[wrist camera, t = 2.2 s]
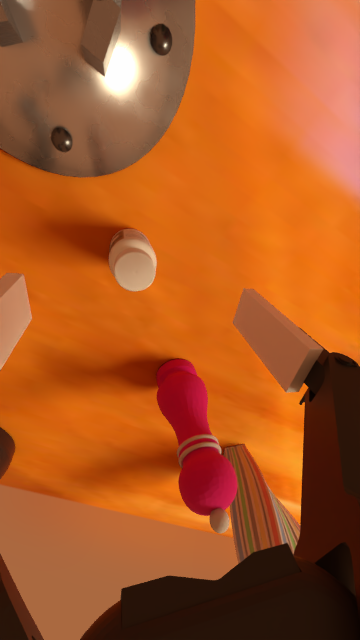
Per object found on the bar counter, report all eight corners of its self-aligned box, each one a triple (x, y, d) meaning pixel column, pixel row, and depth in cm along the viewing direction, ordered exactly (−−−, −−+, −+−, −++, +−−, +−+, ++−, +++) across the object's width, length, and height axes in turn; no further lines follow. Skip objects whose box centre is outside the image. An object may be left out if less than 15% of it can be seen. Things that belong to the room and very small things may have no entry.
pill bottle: (109, 225, 24) (107, 243, 18) (152, 230, 25) (164, 248, 19) (109, 266, 26) (107, 295, 20) (148, 269, 27) (158, 297, 21)
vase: (203, 472, 57) (270, 703, 32) (209, 440, 50) (301, 703, 25) (253, 461, 60) (350, 664, 35) (265, 429, 53) (398, 654, 28)
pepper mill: (144, 382, 37) (167, 553, 20) (169, 349, 34) (219, 511, 18) (180, 394, 40) (225, 548, 23) (205, 364, 38) (275, 512, 21)
